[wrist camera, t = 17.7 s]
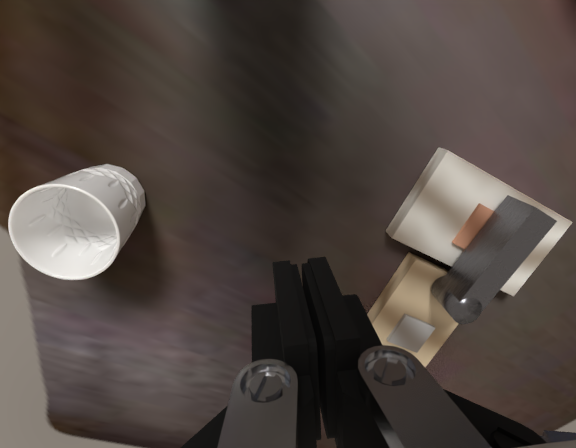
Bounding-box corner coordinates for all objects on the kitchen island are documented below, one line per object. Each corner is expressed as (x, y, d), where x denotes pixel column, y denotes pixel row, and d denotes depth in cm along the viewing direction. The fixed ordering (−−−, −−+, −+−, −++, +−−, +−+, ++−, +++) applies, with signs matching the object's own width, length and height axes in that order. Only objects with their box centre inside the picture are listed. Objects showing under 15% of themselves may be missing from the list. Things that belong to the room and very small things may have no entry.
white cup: (86, 238, 38) (34, 288, 29) (57, 165, 35) (-12, 195, 26) (161, 225, 38) (133, 270, 29) (138, 151, 36) (98, 175, 26)
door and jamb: (438, 147, 38) (450, 151, 36) (558, 216, 43) (576, 224, 40) (319, 335, 46) (323, 348, 43) (432, 377, 50) (441, 391, 48)
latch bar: (446, 303, 43) (468, 328, 38) (425, 292, 42) (445, 317, 38) (523, 206, 39) (558, 221, 35) (502, 192, 38) (534, 206, 34)
